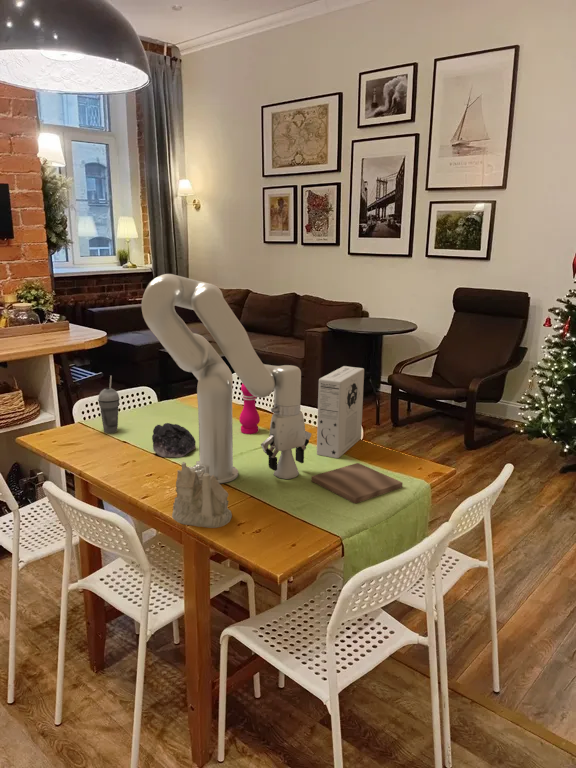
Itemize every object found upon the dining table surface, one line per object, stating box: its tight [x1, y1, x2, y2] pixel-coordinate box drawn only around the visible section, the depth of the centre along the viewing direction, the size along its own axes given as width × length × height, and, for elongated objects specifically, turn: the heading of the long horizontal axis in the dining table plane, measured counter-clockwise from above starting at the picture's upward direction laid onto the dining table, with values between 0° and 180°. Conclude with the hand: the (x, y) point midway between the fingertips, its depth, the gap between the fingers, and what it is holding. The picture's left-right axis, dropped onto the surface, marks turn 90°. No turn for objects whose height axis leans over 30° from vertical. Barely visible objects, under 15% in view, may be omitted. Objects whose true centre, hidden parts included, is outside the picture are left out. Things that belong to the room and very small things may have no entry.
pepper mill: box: [239, 383, 261, 435], centre depth 210 cm, size 7×7×20 cm
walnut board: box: [311, 462, 403, 505], centre depth 168 cm, size 18×18×2 cm
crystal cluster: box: [151, 422, 197, 458], centre depth 191 cm, size 13×14×10 cm
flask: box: [272, 449, 300, 480], centre depth 173 cm, size 7×7×10 cm
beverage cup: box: [97, 375, 120, 434], centre depth 208 cm, size 7×7×20 cm
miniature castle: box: [171, 461, 233, 529], centre depth 149 cm, size 16×16×15 cm
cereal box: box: [316, 365, 365, 459], centre depth 195 cm, size 22×8×25 cm, turn 154°
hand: (286, 465), depth 174 cm, fingers open, 9 cm apart
